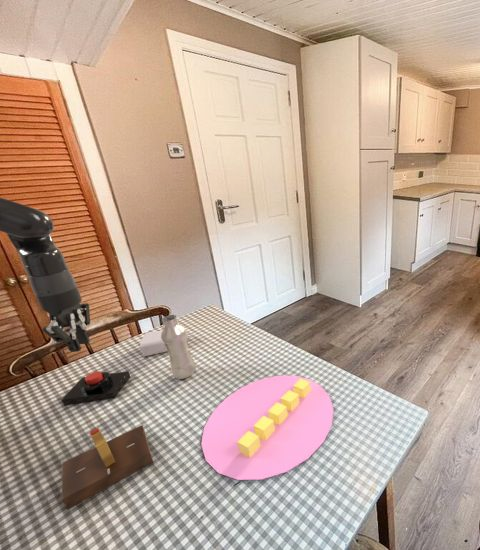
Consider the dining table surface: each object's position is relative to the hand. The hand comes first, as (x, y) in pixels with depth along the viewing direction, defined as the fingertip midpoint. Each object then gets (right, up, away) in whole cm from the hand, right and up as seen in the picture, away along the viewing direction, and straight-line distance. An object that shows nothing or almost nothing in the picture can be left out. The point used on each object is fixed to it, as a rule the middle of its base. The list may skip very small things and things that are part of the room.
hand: (80, 346), depth 81 cm
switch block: (0, -14, +6) cm, 15 cm away
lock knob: (+21, -20, -17) cm, 34 cm away
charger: (+7, -6, +26) cm, 28 cm away
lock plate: (+21, -23, -16) cm, 35 cm away
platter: (+52, -18, -4) cm, 55 cm away
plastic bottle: (+21, -12, +12) cm, 27 cm away
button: (0, -11, +4) cm, 12 cm away
